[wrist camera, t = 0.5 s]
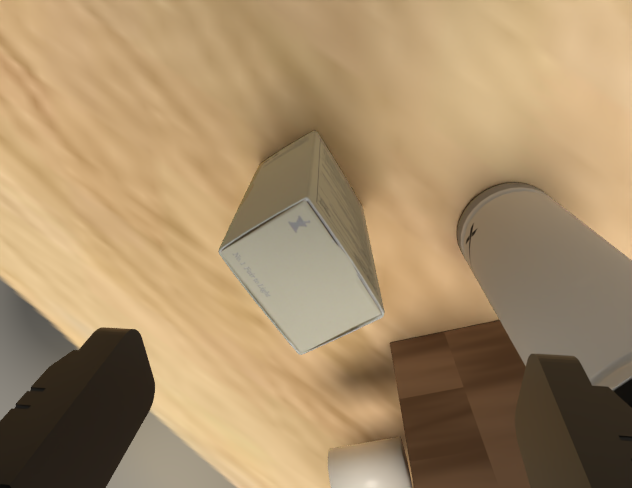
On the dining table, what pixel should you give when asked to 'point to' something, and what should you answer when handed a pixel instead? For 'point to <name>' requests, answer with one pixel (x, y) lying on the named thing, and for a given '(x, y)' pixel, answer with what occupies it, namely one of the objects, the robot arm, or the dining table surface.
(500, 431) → the box
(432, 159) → the dining table surface
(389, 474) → the white key
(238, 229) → the skincare box
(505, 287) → the travel mug
